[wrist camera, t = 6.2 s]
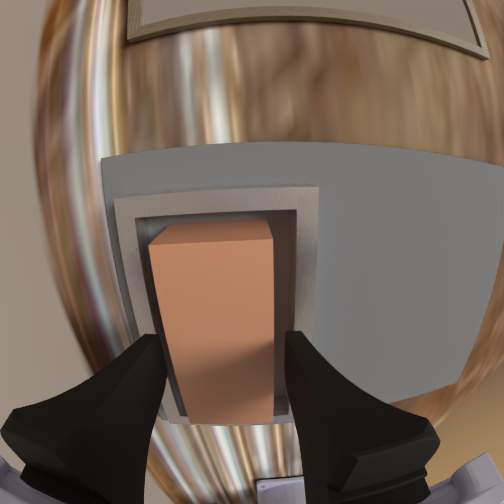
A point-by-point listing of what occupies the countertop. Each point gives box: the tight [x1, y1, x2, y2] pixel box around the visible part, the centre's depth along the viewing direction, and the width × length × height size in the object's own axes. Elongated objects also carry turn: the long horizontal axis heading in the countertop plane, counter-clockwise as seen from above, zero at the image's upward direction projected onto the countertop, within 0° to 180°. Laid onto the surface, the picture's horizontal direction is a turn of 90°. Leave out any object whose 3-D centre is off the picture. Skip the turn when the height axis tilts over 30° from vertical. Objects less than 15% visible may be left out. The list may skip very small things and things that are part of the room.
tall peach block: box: [148, 219, 274, 424], centre depth 12 cm, size 4×9×3 cm, turn 2°
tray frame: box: [114, 183, 319, 426], centre depth 13 cm, size 13×8×2 cm, turn 2°
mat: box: [101, 142, 504, 420], centre depth 14 cm, size 16×22×1 cm
